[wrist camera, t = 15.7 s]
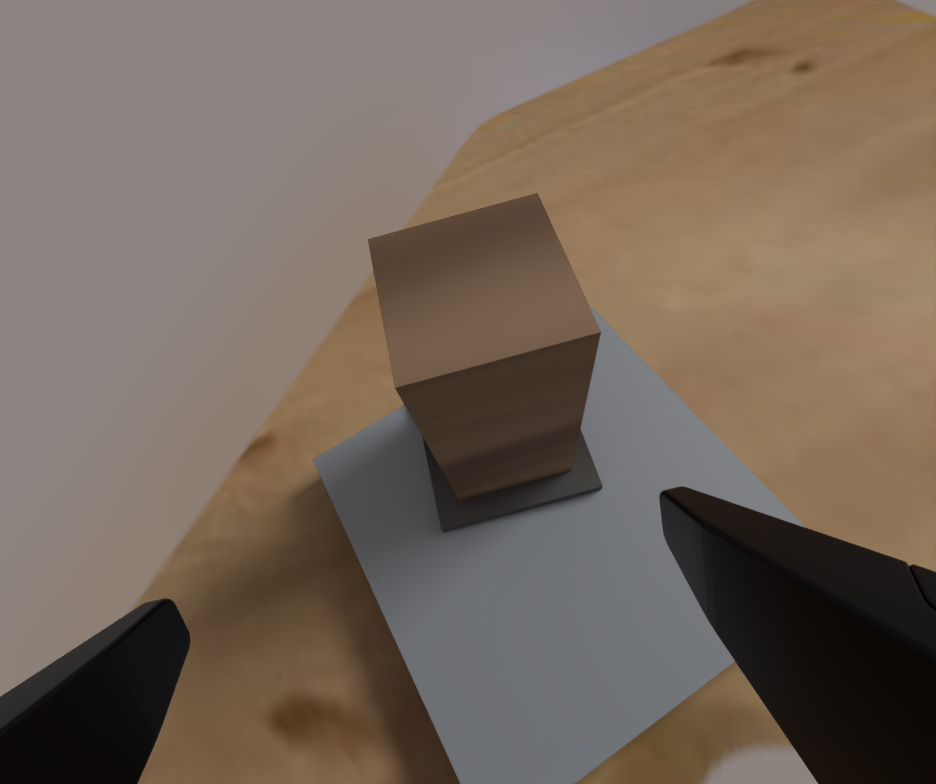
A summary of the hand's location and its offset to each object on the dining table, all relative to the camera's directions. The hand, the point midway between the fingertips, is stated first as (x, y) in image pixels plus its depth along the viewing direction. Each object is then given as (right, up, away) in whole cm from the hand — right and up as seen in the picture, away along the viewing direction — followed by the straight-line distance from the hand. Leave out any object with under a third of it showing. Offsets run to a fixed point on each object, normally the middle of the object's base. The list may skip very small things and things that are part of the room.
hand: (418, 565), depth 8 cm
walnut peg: (+3, 0, +15) cm, 15 cm away
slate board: (+5, -3, +13) cm, 14 cm away
